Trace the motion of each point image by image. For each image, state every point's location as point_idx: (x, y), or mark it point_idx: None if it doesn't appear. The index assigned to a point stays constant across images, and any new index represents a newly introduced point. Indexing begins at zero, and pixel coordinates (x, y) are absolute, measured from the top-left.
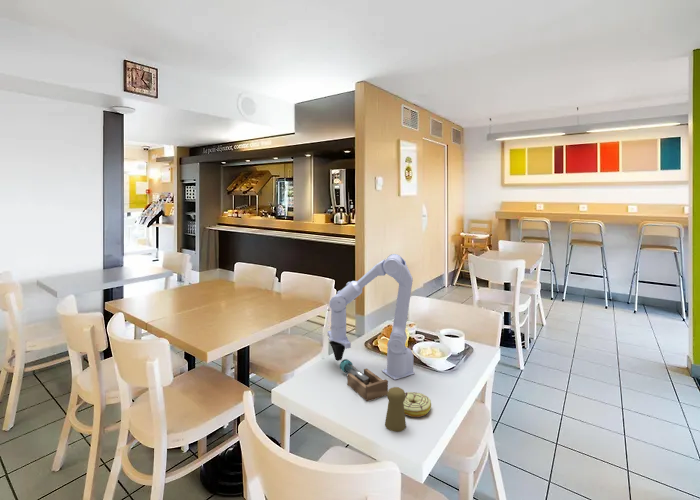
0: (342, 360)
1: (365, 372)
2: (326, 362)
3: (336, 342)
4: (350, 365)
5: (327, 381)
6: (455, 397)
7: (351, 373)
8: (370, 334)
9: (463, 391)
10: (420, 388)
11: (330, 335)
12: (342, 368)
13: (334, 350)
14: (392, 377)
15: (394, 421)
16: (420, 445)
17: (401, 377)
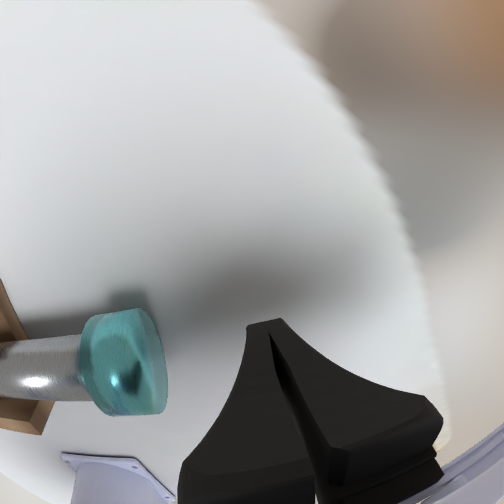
0: (130, 375)
1: (22, 411)
2: (367, 236)
3: (332, 499)
4: (56, 389)
5: (46, 155)
6: (8, 473)
7: (10, 346)
8: (448, 440)
9: (35, 493)
10: (26, 462)
11: (499, 500)
12: (87, 323)
13: (296, 384)
14: (68, 457)
15: None
16: None
17: (76, 471)
